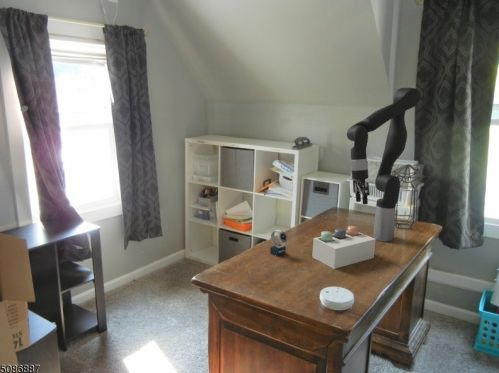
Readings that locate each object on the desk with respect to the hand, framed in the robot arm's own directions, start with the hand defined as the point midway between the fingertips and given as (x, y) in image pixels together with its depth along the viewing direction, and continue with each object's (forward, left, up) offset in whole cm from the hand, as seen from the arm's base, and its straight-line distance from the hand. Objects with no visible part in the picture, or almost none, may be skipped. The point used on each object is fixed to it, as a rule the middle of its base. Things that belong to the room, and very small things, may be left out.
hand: (361, 203), depth 195 cm
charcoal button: (+16, +4, -14) cm, 22 cm away
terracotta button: (+8, +4, -14) cm, 16 cm away
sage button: (+24, +4, -14) cm, 28 cm away
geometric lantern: (-45, -10, -22) cm, 51 cm away
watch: (+39, -11, -22) cm, 46 cm away
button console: (+16, +7, -22) cm, 28 cm away
